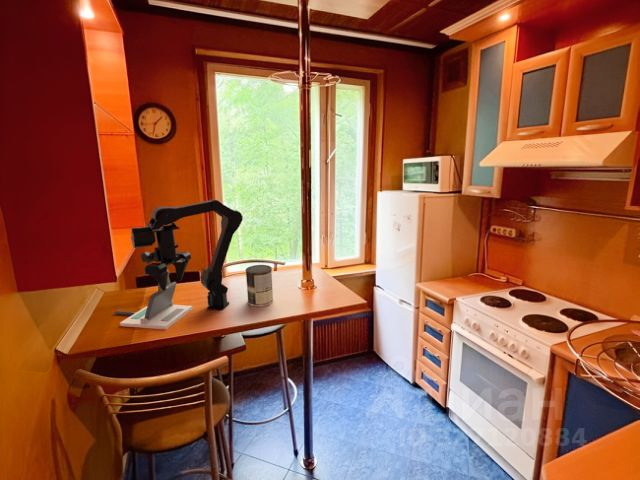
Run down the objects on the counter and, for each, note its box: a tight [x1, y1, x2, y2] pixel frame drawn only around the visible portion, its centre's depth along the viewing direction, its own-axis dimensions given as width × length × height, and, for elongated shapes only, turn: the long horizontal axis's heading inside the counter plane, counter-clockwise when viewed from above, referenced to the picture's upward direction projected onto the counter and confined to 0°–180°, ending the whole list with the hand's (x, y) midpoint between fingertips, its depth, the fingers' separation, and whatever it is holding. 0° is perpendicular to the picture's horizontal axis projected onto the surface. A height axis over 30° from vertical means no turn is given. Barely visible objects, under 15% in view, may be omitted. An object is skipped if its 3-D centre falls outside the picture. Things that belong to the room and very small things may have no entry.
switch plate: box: [114, 300, 194, 330], centre depth 128 cm, size 27×17×3 cm, turn 80°
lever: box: [145, 281, 178, 320], centre depth 126 cm, size 2×14×11 cm, turn 171°
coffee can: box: [245, 264, 274, 308], centre depth 139 cm, size 10×10×14 cm
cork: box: [157, 268, 172, 291], centre depth 150 cm, size 6×6×11 cm
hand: (172, 285), depth 124 cm, fingers open, 9 cm apart
